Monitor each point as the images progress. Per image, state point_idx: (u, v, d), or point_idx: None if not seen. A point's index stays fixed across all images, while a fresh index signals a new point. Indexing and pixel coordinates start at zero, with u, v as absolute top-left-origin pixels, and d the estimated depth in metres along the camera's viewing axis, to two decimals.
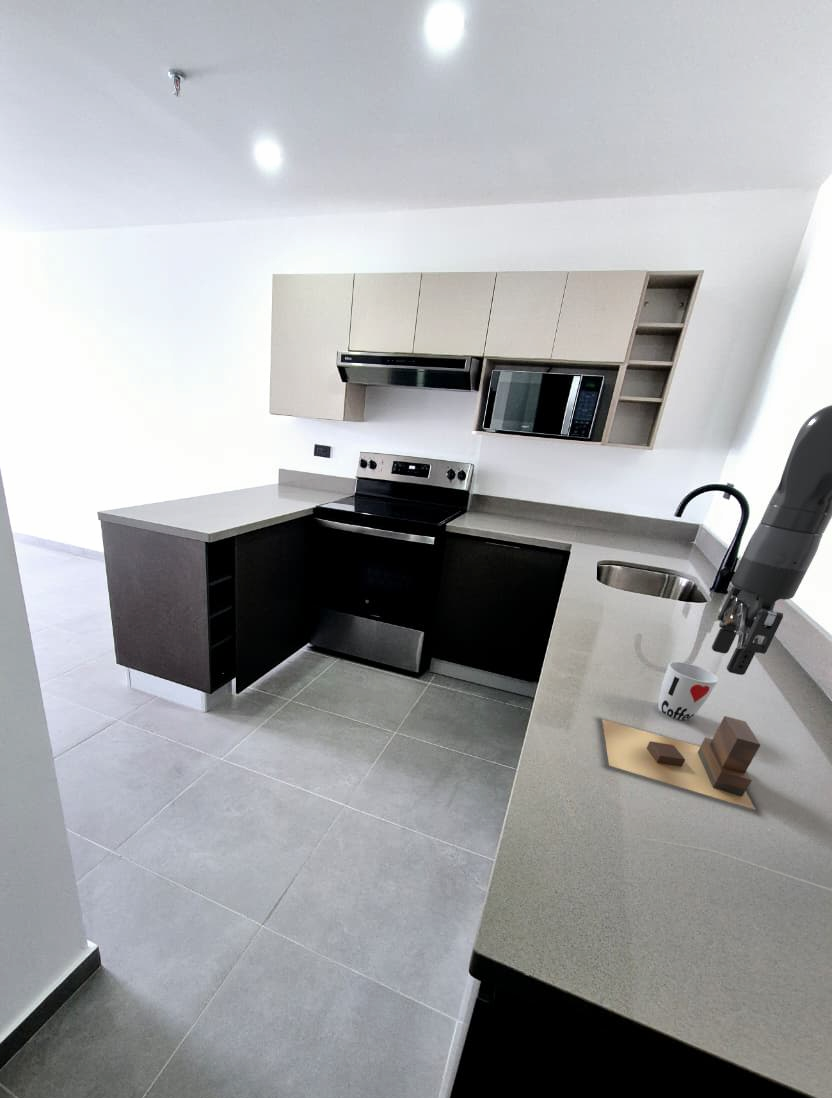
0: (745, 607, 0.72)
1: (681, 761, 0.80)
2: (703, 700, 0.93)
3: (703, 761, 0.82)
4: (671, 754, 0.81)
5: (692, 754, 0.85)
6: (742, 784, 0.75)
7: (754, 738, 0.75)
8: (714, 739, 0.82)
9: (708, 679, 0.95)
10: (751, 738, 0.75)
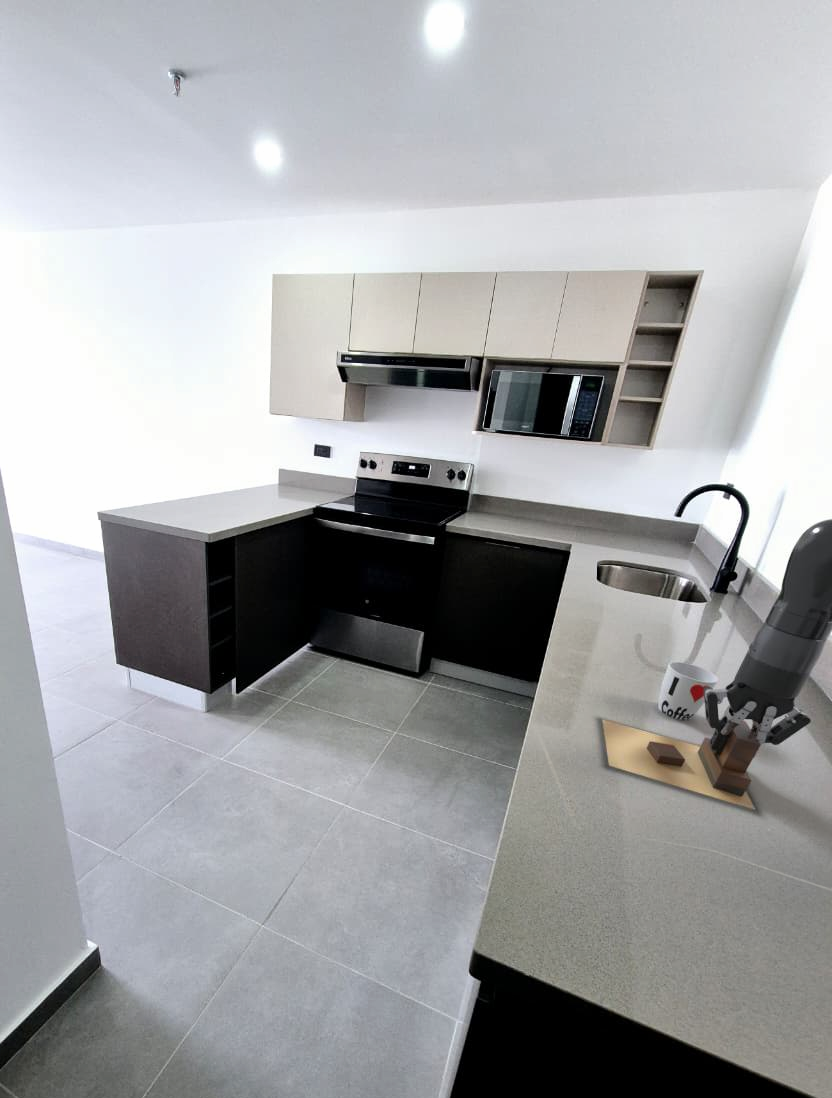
0: None
1: (681, 761, 0.80)
2: (703, 700, 0.93)
3: (703, 761, 0.82)
4: (671, 754, 0.81)
5: (692, 754, 0.85)
6: (742, 784, 0.75)
7: (754, 738, 0.75)
8: None
9: (708, 679, 0.95)
10: (751, 738, 0.75)
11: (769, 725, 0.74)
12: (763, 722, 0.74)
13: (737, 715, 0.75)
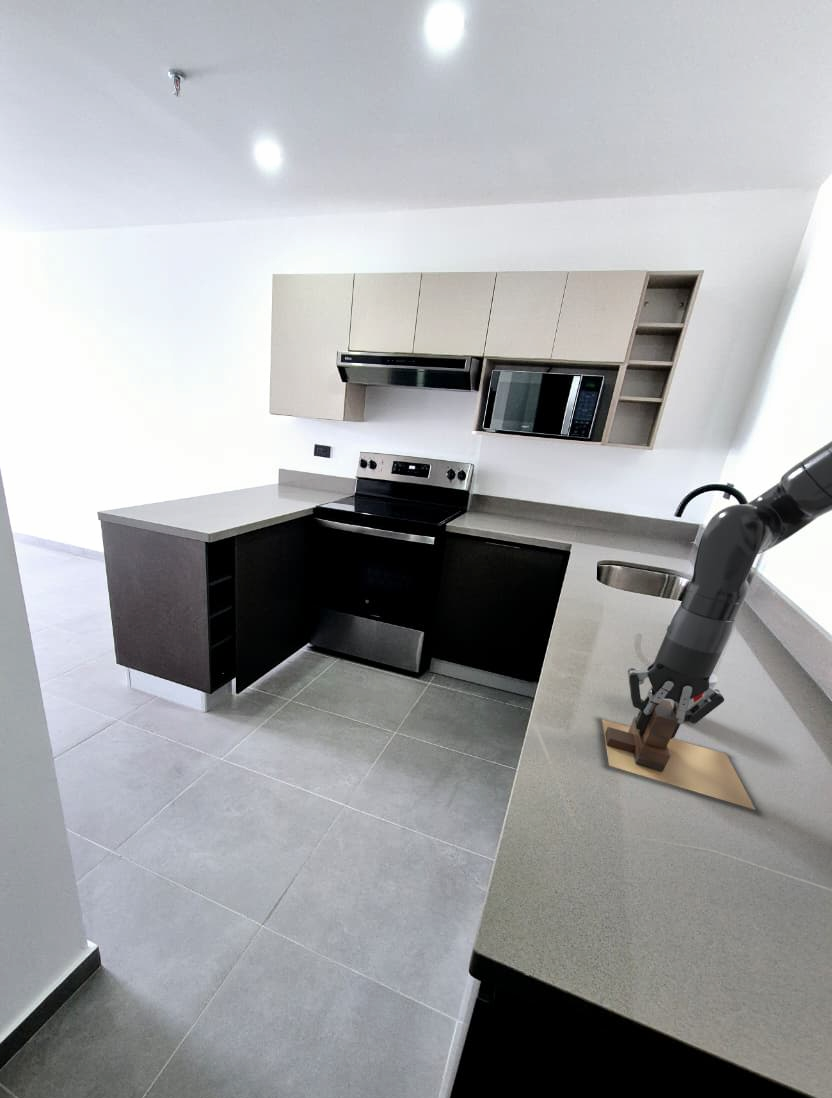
0: None
1: (631, 746, 0.82)
2: None
3: None
4: (622, 739, 0.83)
5: (692, 754, 0.85)
6: (662, 760, 0.78)
7: (673, 716, 0.78)
8: None
9: None
10: (670, 716, 0.78)
11: (686, 704, 0.77)
12: (681, 701, 0.77)
13: (657, 695, 0.78)
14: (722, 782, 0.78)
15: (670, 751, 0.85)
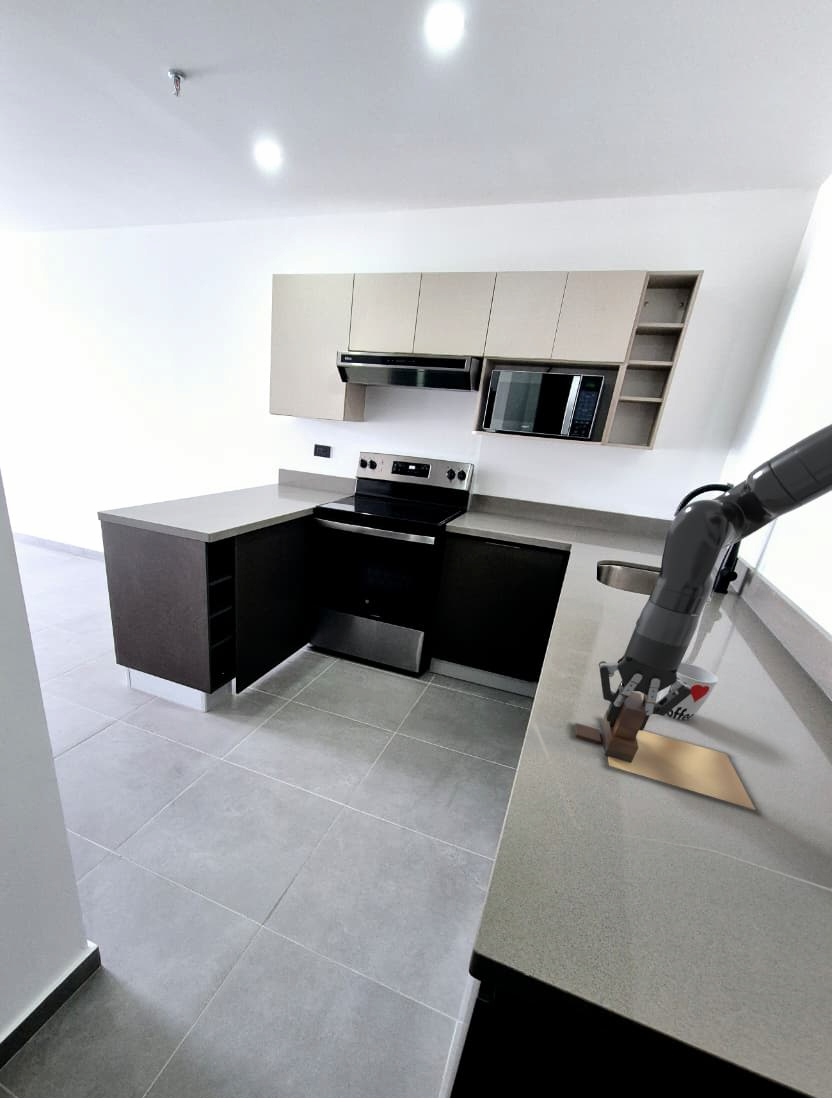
0: None
1: (597, 742, 0.84)
2: (703, 700, 0.93)
3: (603, 732, 0.87)
4: (588, 735, 0.85)
5: (692, 754, 0.85)
6: (630, 751, 0.79)
7: (642, 708, 0.79)
8: None
9: (708, 679, 0.95)
10: (639, 708, 0.79)
11: (654, 696, 0.78)
12: (649, 694, 0.78)
13: (626, 687, 0.79)
14: (722, 782, 0.78)
15: (670, 751, 0.85)
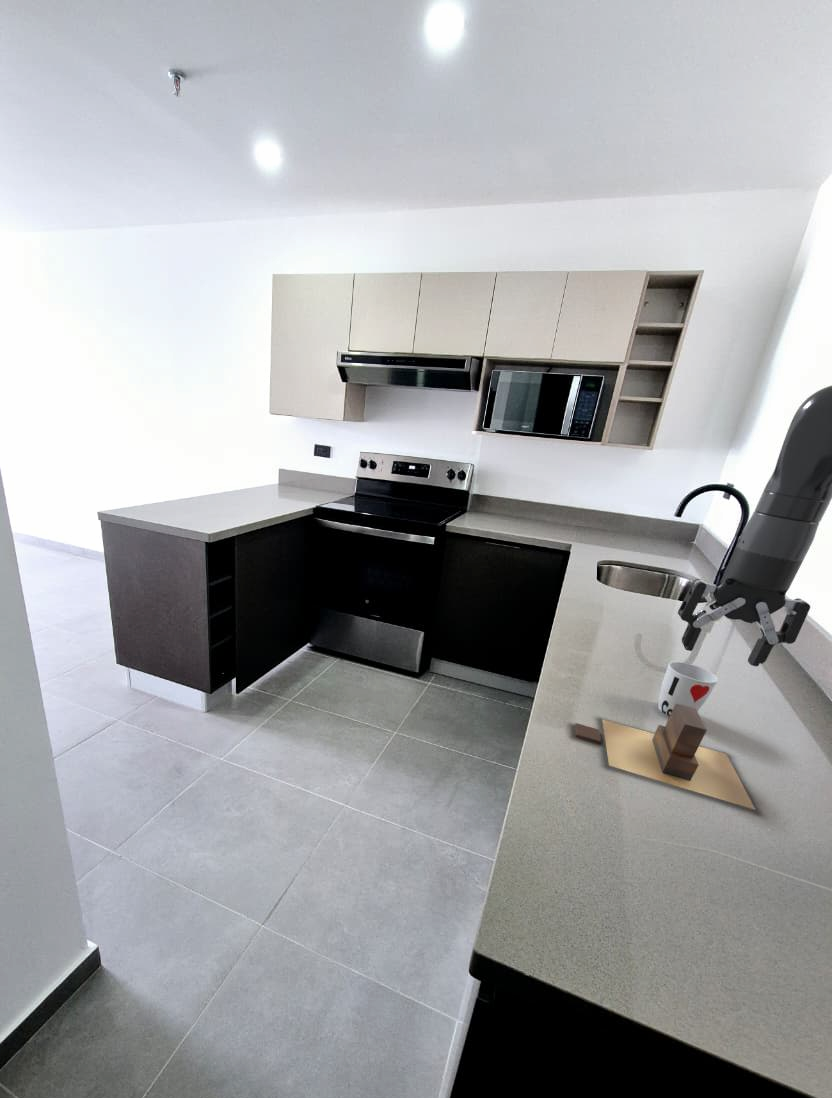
0: None
1: (597, 742, 0.84)
2: (703, 700, 0.93)
3: (656, 748, 0.84)
4: (588, 735, 0.85)
5: None
6: (690, 769, 0.77)
7: (701, 724, 0.77)
8: (666, 726, 0.84)
9: (708, 679, 0.95)
10: (698, 724, 0.77)
11: (770, 621, 0.69)
12: (762, 621, 0.70)
13: (720, 609, 0.71)
14: (722, 782, 0.78)
15: None
